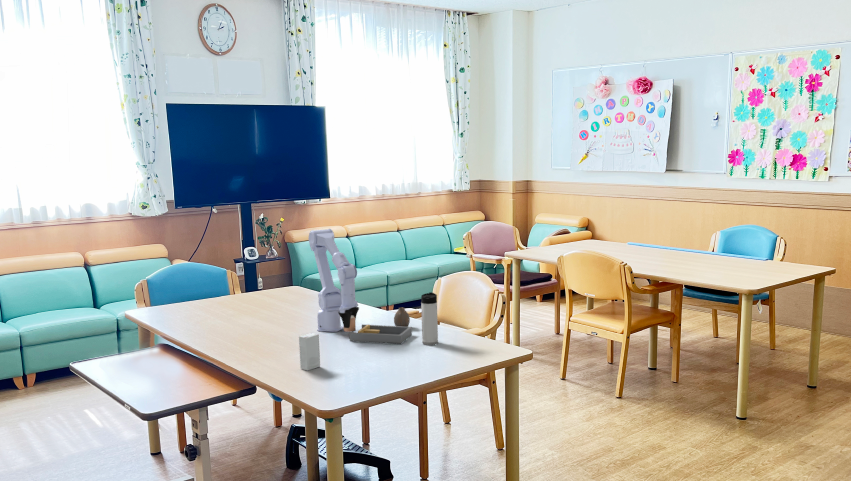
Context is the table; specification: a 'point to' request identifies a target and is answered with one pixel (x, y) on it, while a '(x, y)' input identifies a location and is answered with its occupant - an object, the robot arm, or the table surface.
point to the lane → (383, 334)
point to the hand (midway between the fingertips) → (349, 326)
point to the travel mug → (429, 319)
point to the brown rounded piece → (401, 318)
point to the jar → (351, 325)
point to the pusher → (368, 330)
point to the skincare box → (309, 351)
